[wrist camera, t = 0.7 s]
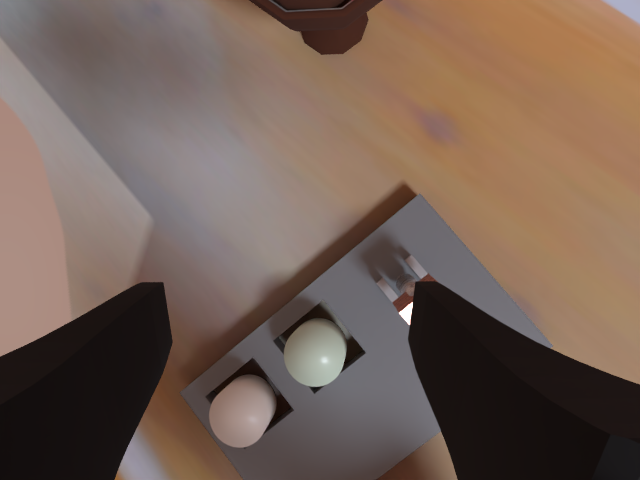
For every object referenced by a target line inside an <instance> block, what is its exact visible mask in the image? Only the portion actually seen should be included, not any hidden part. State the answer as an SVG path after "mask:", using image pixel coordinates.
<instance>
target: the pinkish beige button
mask: <svg viewBox="0 0 640 480" xmlns="http://www.w3.org/2000/svg"><path fill="white" fill-rule="evenodd" d="M276 406H277V400H276V395H275V392H274V390H273V388H272V387H271V385H270V384H269V383H268V382H267V381H266V380H265V379H263V378H261V377H259V376H257V375H251V374H247V375H242V376H239V377H237V378H236V379H234V380H233V381H232V382H231V383H230V384H229V385H228V386H227V387H225V388H224V389H223V390H222V391H221V392H220V393H219V394H218V395H217V396H216V397H215V399H214V400H213V402H212V404H211V407H210V411H209V420H210V425H211V428H212V430H213V432H214V434H215V435H216V436H217V437H218V439H220V440H221V441H222V442H223V443H225V444H227V445H229V446H232V447H237V448H242V447H247V446H250V445H252V444H254V443H255V442H257V441H258V440H259V439H260V437H261V436H262V435H263V433H264V431H265V430H266V428H267V426H268V425H269V423H270V421H271V419H272V418H273V416H274V414H275V411H276Z"/></svg>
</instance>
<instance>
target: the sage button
mask: <svg viewBox="0 0 640 480" xmlns="http://www.w3.org/2000/svg"><path fill="white" fill-rule="evenodd" d="M346 352H347V341H346V338H345V335H344V333H343V331H342V330H341V328H340V327H339V326H338V325H336V324H335V323H334V322H332V321H330V320H328V319H324V318H313V319H310V320H307V321H305V322H304V323H302V324H301V325H300V326H299V327H298V328H297V329H296V330H295V331H294V332H293V333H292V335H291V336H290V337H289V339H288V340H287V342H286V345H285V348H284V361H285V365H286V368H287V370H288V372H289V373H290V374H291V376H292V377H293V378H294V379H295V380H297V381H298V382H300V383H301V384H304V385H306V386H311V387H319V386H324V385H327V384H329V383H330V382H332V381H333V380H334V379H336V378H337V376H338V375H339V374H340V372H341V370H342V368H343V364H344V361H345V357H346Z"/></svg>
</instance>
